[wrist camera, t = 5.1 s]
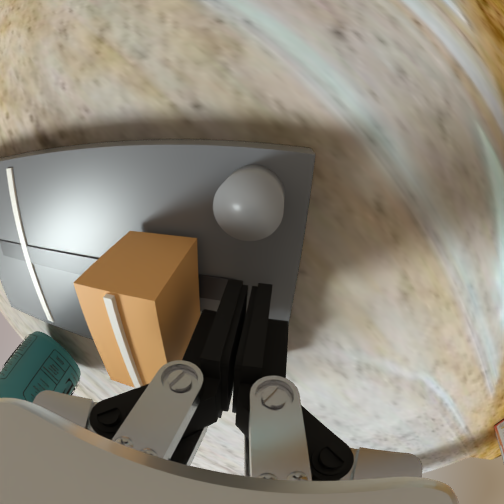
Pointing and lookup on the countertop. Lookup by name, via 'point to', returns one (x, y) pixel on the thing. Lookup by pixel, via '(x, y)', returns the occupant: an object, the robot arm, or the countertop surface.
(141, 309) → the fader tab
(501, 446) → the cracker box
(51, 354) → the beverage bottle
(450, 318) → the countertop surface
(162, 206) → the console board
